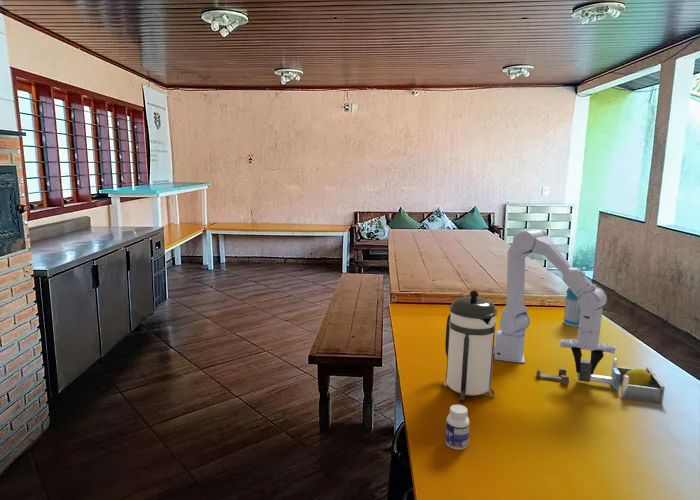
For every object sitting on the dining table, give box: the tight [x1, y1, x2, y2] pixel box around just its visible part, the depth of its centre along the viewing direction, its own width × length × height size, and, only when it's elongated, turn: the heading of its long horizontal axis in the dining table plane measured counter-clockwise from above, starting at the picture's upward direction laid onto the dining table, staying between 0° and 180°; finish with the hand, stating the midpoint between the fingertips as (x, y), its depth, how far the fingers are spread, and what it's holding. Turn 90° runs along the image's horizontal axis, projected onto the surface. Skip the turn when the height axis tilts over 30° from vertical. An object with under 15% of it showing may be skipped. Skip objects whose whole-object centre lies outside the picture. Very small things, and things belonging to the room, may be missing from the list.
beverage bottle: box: [563, 276, 589, 328], centre depth 194 cm, size 8×8×20 cm
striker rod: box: [576, 358, 621, 390], centre depth 141 cm, size 11×4×7 cm, turn 73°
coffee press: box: [441, 289, 498, 403], centre depth 134 cm, size 17×16×30 cm
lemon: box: [621, 368, 651, 387], centre depth 138 cm, size 6×6×8 cm
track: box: [536, 367, 570, 386], centre depth 145 cm, size 9×6×2 cm
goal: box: [610, 357, 666, 404], centre depth 138 cm, size 10×14×6 cm
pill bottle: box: [444, 404, 470, 450], centre depth 110 cm, size 5×5×9 cm
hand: (584, 372), depth 142 cm, fingers closed on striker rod, 3 cm apart
